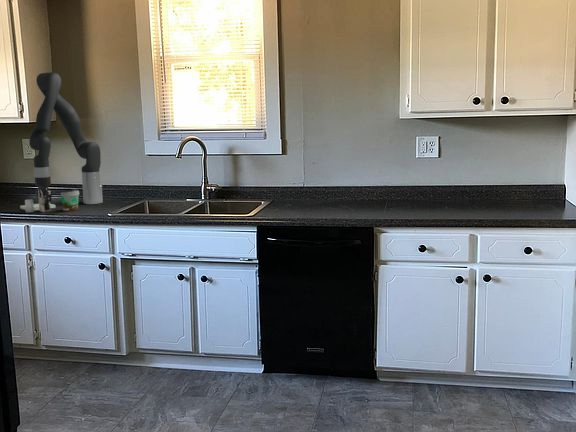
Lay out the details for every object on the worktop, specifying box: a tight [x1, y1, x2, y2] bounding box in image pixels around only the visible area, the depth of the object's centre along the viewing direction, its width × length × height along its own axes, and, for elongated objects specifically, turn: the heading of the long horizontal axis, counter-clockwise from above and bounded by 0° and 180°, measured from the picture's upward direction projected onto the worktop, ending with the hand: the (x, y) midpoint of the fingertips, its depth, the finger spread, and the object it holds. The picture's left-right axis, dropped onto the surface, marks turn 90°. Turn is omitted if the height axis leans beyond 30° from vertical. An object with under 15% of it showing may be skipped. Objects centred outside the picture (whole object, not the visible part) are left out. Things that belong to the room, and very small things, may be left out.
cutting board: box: [19, 203, 57, 211], centre depth 346 cm, size 14×11×2 cm
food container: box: [60, 189, 80, 213], centre depth 337 cm, size 12×6×10 cm, turn 168°
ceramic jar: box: [24, 199, 35, 213], centre depth 335 cm, size 4×4×6 cm
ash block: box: [38, 197, 52, 213], centre depth 336 cm, size 4×4×7 cm
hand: (44, 209), depth 337 cm, fingers closed on ash block, 4 cm apart
